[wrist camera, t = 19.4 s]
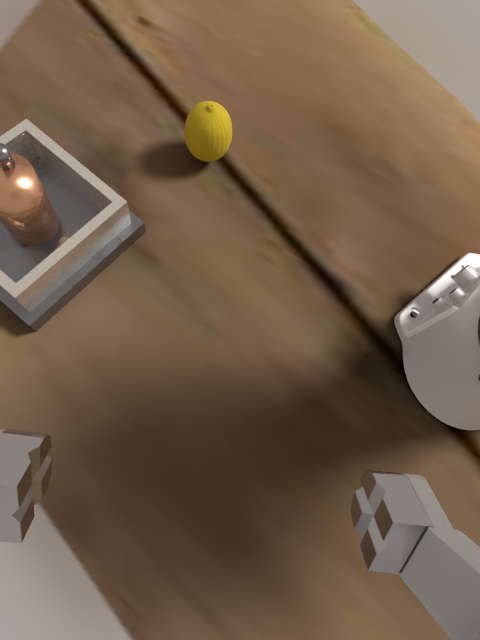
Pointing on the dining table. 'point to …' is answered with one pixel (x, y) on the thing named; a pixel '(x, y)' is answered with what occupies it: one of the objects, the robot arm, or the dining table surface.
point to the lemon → (208, 131)
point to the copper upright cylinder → (24, 201)
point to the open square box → (62, 231)
